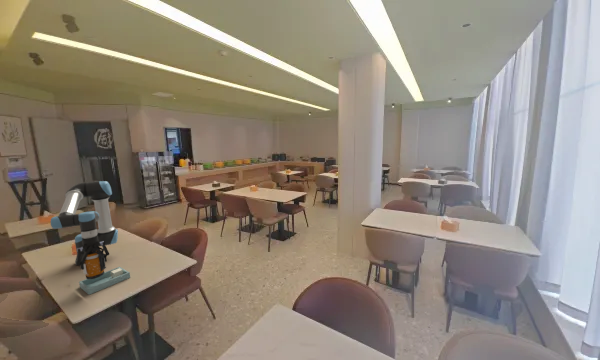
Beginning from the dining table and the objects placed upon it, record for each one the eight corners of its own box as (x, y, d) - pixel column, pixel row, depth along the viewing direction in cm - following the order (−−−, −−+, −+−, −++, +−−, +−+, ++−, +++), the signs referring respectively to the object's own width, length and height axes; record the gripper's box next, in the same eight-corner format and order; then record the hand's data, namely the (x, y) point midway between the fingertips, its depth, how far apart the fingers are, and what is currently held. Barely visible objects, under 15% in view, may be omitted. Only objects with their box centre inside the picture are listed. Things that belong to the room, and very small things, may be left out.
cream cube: (111, 278, 159) (110, 271, 158) (120, 274, 163) (119, 268, 162) (114, 280, 156) (113, 273, 155) (123, 276, 160) (122, 269, 160)
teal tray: (80, 288, 149) (78, 281, 149) (120, 272, 168) (119, 266, 167) (89, 295, 141) (88, 289, 140) (130, 278, 159) (129, 272, 159)
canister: (93, 273, 154) (89, 244, 151) (111, 272, 155) (107, 243, 152) (82, 280, 145) (77, 250, 143) (101, 279, 146) (96, 249, 143)
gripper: (68, 243, 135) (74, 279, 138) (113, 232, 153) (117, 264, 156) (64, 241, 139) (70, 276, 142) (108, 230, 157) (112, 261, 160)
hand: (94, 270), depth 149 cm, fingers closed on canister, 9 cm apart
